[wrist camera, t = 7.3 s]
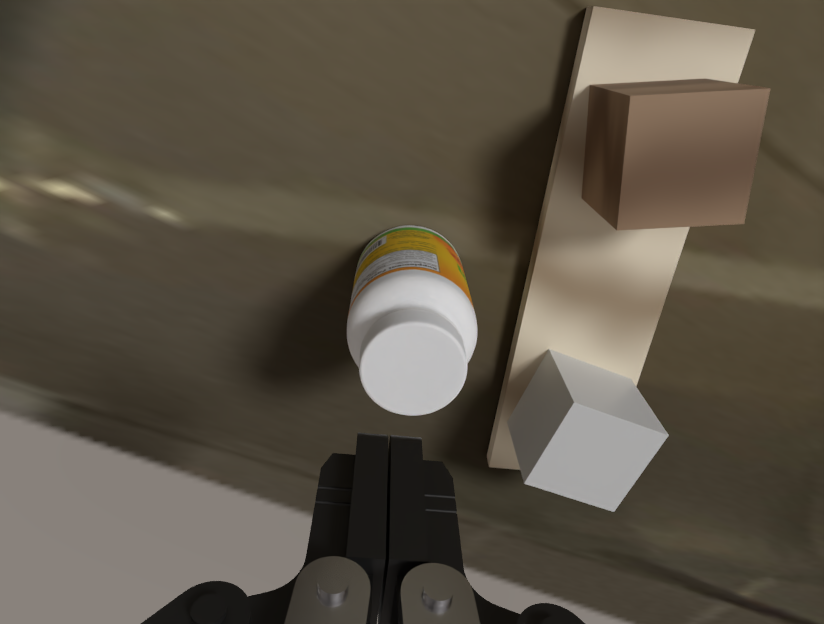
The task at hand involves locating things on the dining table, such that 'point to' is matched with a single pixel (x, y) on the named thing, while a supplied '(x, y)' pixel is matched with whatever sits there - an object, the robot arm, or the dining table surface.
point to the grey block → (583, 431)
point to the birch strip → (590, 233)
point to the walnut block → (672, 152)
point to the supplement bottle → (411, 321)
